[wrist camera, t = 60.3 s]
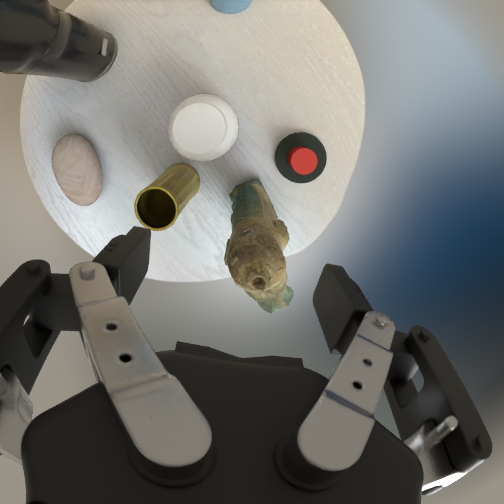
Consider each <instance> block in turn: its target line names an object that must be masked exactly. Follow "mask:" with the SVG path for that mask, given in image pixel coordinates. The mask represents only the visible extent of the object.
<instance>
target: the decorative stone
mask: <svg viewBox="0 0 504 504" xmlns="http://www.w3.org/2000/svg"><path fill="white" fill-rule="evenodd" d="M52 167H53V171H54V175H55V177H56V180H57V182H58V184H59V186H60V188H61V190H62V191H63V193H64V194H65V195H66V196H67V197H68V199H69V200H71V201H72V202H73V203H75V204H77V205H80V206H88V205H90V204H92V203H94V202H95V201H96V200H97V199H98V197H99V196H100V193H101V190H102V186H103V175H102V169H101V165H100V162H99V159H98V157H97V154H96V152H95V150H94V149H93V147H92V146H91V145H90V143H89V142H88V141H87V140H86V139H85V138H83V137H81V136H79V135H76V134H70V135H66V136H64V137H63V138H61V139H60V140H59V141H58V142H57V144H56V145H55V147H54V150H53V153H52Z"/></svg>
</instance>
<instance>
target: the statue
mask: <svg viewBox="0 0 504 504" xmlns="http://www.w3.org/2000/svg"><path fill="white" fill-rule="evenodd" d="M230 198H231V200H232V202H233V204H232V210H233V213H232V215H231V223H232V234H231V237H230V239H228V241H227V246H226V252H225V257H224V261H225V265H227V266H228V268H229V271H230V274H231V276H232V278H233V279H234V281H235V283H236V285H237V286H239V287H241V288H243V289H244V290H245V292H246V293H247V294H248V295H249V296H250V297H252V298H253V299H254V300H255V301H257V302H258V304H259V305H260V307H261V308H262V309H264V310H265V311H267V312H269V313H272V312H275V311H278V310H281V309H283V308H285V307H286V306H288V305H289V303H290V302H291V300H292V298H293V290H292V288H291V287H289V286H287V273H286V261H285V257H284V256H283V252H282V251H283V249H284V248H285V247H286V245H287V243H288V241H289V234H288V231H287V227H286V226H285V224H284V222H283V221H281V220H277V218H278V217H277V215H276V212H275V210H274V208H273V206H272V203H271V201H270V199H269V197H268V195H267V193H266V191H265V189H264V187H263V185H262V183H261V181H260V179H256V180H252V181H249V182H246V183H244V184H241V185H239V186H236V187H235V188H234V190H233V191H232V192H231V193H230Z"/></svg>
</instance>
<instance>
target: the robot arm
mask: <svg viewBox="0 0 504 504" xmlns="http://www.w3.org/2000/svg"><path fill="white" fill-rule="evenodd" d="M116 53H117V43H116V40H115V39H114V37H113V36H112V35H111V34H109V33H107V32H104V31H102V30H100V29H99V28H97V27H95V26H93V25H91V24H89V23H87V22H85V21H83V20H81V19H79V18H77V17H75V16H73V15H71V14H69V13H67V12H65V11H62V10H60V9H57V8H55V7H53V6H51V5H49V2H48V0H0V72H3V73H6V74H27V75H40V76H50V77H58V78H66V79H72V80H77V81H81V82H90V81H93V80H96V79H98V78H99V77H101V76H102V75H104V74H105V73H106V72H107V71H108V69H109V68H110V67H111V65H112V64H113V62H114V60H115V57H116ZM150 240H151V230H150V229H147V228H142V227H136V226H134V227H133V228H132V229H131V230H130V231H129V232H128V233H127V235H119V236H117V237H115V238H113V239H112V240H111V241H110V242H109V243H108V245H106V246H105V247H104V248H103V250H102V251H101V252H100V253H99V254H98V255H97V256H96V257H95V258H94V260H93V261H92V262H81V263H78V264H76V265H74V266H73V267H72V268H71V269H70V271H69V274H54V273H53V274H52V273H51V270H50V265H49V263H48V262H46V261H44V260H31V261H27V262H25V263H24V264H22V265H21V266H20V267H19V268H18V269H17V270H16V271H15V272H14V273H13V274H12V275H11V276H10V277H9V278H8V279H7V280H6V281H5V282H4V283H3V284H2V285H1V287H0V455H2V454H3V455H5V456H6V457H8V458H10V459H12V460H14V461H15V462H17V463H19V464H21V465H23V470H24V476H25V484H26V504H421V494H423V495H431V494H433V493H435V492H437V491H438V490H440V489H442V488H444V487H445V486H447V485H449V484H450V483H452V482H454V481H455V480H457V479H458V478H460V477H462V476H463V475H465V474H466V473H467V472H469V471H470V470H472V469H473V468H475V467H476V466H478V465H479V464H480V463H482V462H483V461H484V460H486V459H487V458H488V457H489V456H490V455H491V452H492V441H491V439H490V436H489V434H488V432H487V430H486V427H485V425H484V423H483V421H482V419H481V417H480V415H479V413H478V411H477V409H476V407H475V405H474V403H473V401H472V400H471V397H470V395H469V394H468V392H467V390H466V388H465V386H464V384H463V383H462V381H461V379H460V377H459V376H458V374H457V372H456V370H455V369H454V367H453V365H452V364H451V362H450V360H449V359H448V357H447V355H446V354H445V352H444V350H443V349H442V347H441V346H440V344H439V342H438V341H437V339H436V338H435V336H434V335H433V334H432V333H431V332H430V331H429V330H427V329H426V328H424V327H421V326H413V327H412V328H411V330H410V331H409V333H408V334H405V333H402V332H399V331H396V330H395V325H394V323H393V321H392V320H391V319H390V318H389V317H387V316H386V315H384V314H382V313H379V312H376V311H374V310H373V309H372V308H371V306H370V304H369V302H368V301H367V299H366V298H365V296H364V294H363V293H362V291H361V289H360V288H359V286H358V285H357V284H356V283H355V282H354V281H353V280H352V279H351V278H349V276H348V275H347V273H346V271H345V270H344V268H343V267H342V266H337V265H332V264H326V265H325V266H324V268H323V271H322V274H321V276H320V279H319V281H318V284H317V286H316V289H315V291H314V295H313V305H314V308H315V311H316V313H317V316H318V319H319V322H320V325H321V327H322V330H323V333H324V336H325V339H326V342H327V345H328V348H329V351H330V353H331V354H342V357H341V358H340V360H339V362H338V363H337V365H336V367H335V368H334V370H333V372H332V373H331V375H330V377H329V378H328V379H327V378H326V377H324V376H322V375H321V374H319V373H317V372H315V371H312V370H310V369H307V368H304V366H303V362H302V359H301V358H291V357H280V356H265V357H253V358H239V357H236V356H233V355H230V354H227V353H224V352H221V351H218V350H216V349H213V348H210V347H206V346H200V345H194V344H189V343H183V342H179V341H178V342H177V344H176V349H175V350H169V351H160V352H154V350H153V348H152V347H151V345H150V343H149V341H148V340H147V338H146V336H145V334H144V333H143V331H142V329H141V327H140V325H139V324H138V322H137V320H136V318H135V316H134V314H133V313H132V310H131V309H130V307H129V306H130V303H131V302H132V300H133V298H134V296H135V294H136V292H137V290H138V288H139V286H140V284H141V282H142V281H143V279H144V277H145V275H146V273H147V270H148V265H149V254H150ZM28 314H29V319H28V320H27V322H26V323H25V325H24V326H23V324H24V321H25V319H26V317H27V316H28ZM61 330H62V331H79V333H80V337H81V340H82V343H83V347H84V350H85V353H86V356H87V359H88V362H89V365H90V368H91V371H92V374H93V376H94V380H95V383H96V384H94V385H92V386H91V387H89V388H87V389H85V390H84V391H82V392H80V393H79V394H76V395H74V396H73V397H71V398H69V399H67V400H65V401H64V402H62V403H60V404H58V405H56V406H55V407H52V408H50V409H49V410H47V411H45V412H43V413H41V414H40V415H38V416H37V417H35V418H34V419H33V420H32V414H33V405H32V401H31V399H30V397H29V394H30V392H31V389H32V387H33V385H34V383H35V380H36V378H37V376H38V374H39V372H40V370H41V368H42V366H43V364H44V362H45V360H46V358H47V356H48V354H49V352H50V350H51V348H52V346H53V344H54V343H55V341H56V339H57V337H58V335H59V333H60V332H61ZM418 369H419V370H420V371H421V373H422V375H423V378H424V385H423V388H422V389H421V391H420V392H419V393H418V392H417V390H416V388H415V385H414V383H413V381H412V379H411V378H412V376H413V375H414V374H415V373H416V371H417V370H418ZM383 388H384V391H385V393H386V396H387V399H388V402H389V405H390V408H391V410H392V413H393V416H394V419H395V422H396V425H397V428H398V431H399V434H400V438H401V440H400V439H399V438H397V437H396V436H395V435H394V434H393V433H391V432H390V431H389V430H388V429H386V428H385V427H384V426H383V425H381V424H380V423H379V422H378V421H377V420H376V419H375V418H374V412H375V409H376V407H377V404H378V401H379V398H380V395H381V393H382V389H383Z"/></svg>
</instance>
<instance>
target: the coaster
mask: <svg viewBox="0 0 504 504" xmlns="http://www.w3.org/2000/svg"><path fill="white" fill-rule="evenodd" d="M298 146H302V147H305V148H308V149H310V150H312V151H313V152H314V153H315V155H316V157H317V166H316V168H315V170H314V171H313V172H311V173H309V174H305V175H303V174H299V173H297V172H296V171H295V170H293V169H292V168H291V167H290V165H289V163H288V154H289V152H290V151H291V150H292V149H293V148H295V147H298ZM275 160H276V165H277V167H278V170H279V171H280V173H281V174H282V175H283V176H284V177H285V178H287V179H288V180H290V181H292V182H296V183H307V182H310V181H312V180H314V179H316V178H317V177H318V176H319V175H320V174H321V173H322V172H323V170H324V168H325V165H326V151H325V148H324V146H323V144H322V143H321V142H320V141H319V140H318V139H317V138H316V137H314V136H313V135H310V134H307V133H294V134H291V135H289V136H287V137H285V138H284V139H283V140H282V141H281V142H280V144H279V145H278V147H277V150H276V155H275Z"/></svg>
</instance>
